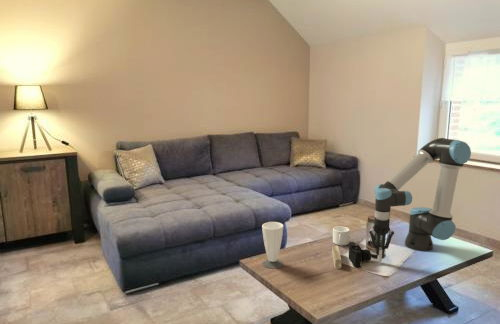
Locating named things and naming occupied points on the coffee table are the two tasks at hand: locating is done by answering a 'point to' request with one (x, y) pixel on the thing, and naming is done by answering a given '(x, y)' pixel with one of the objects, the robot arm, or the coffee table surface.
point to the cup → (272, 243)
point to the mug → (341, 235)
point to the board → (336, 257)
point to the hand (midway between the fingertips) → (379, 260)
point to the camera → (358, 255)
